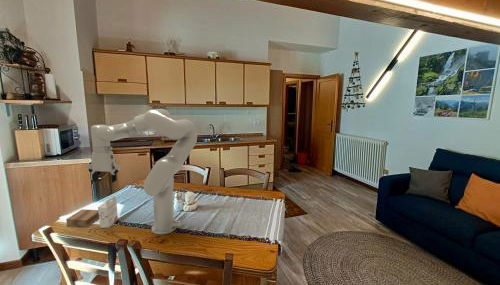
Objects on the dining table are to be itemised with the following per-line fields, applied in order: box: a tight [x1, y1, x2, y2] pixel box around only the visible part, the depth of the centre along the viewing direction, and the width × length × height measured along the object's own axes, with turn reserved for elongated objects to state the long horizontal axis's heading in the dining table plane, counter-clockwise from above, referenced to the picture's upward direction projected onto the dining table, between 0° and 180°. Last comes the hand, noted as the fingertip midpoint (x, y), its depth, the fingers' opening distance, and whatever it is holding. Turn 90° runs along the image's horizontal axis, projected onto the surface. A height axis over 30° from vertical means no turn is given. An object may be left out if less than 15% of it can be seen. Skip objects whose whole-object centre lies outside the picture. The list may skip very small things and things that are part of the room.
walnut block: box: [65, 208, 99, 229], centre depth 127 cm, size 11×11×4 cm
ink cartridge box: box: [97, 195, 119, 229], centre depth 124 cm, size 9×5×15 cm, turn 179°
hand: (105, 181), depth 121 cm, fingers open, 9 cm apart
